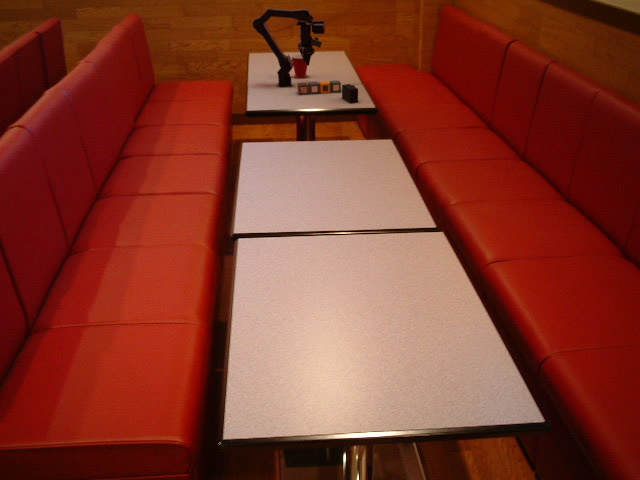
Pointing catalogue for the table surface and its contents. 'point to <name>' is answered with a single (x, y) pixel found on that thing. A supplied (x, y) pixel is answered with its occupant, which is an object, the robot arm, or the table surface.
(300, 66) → the plastic cup
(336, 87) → the green block
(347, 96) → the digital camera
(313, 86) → the slate block
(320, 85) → the mustard block
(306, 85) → the walnut block
